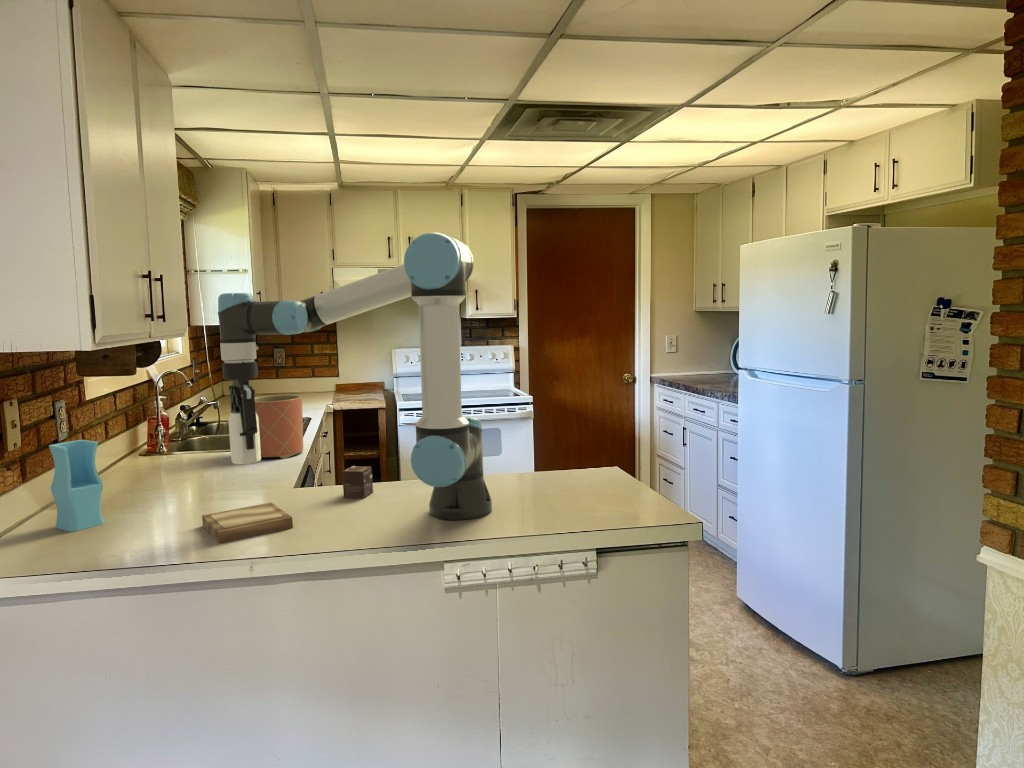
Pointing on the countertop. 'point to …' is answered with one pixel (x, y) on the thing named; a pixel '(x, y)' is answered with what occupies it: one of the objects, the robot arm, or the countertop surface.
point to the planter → (280, 425)
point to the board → (246, 522)
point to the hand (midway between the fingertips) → (246, 460)
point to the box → (357, 482)
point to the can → (240, 439)
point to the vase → (76, 485)
